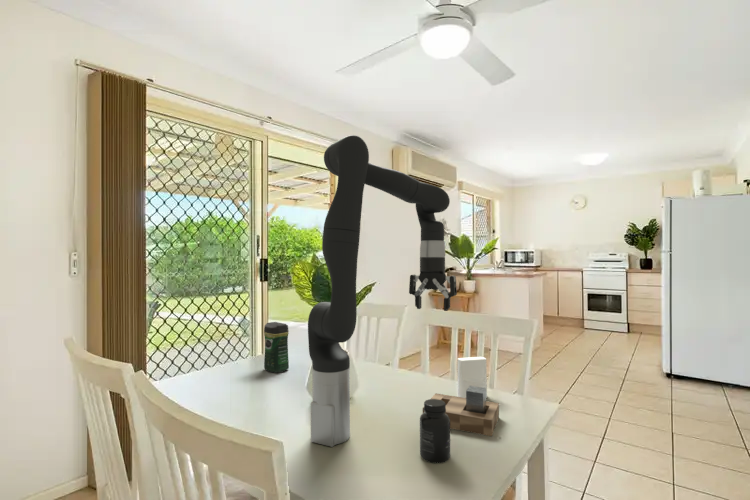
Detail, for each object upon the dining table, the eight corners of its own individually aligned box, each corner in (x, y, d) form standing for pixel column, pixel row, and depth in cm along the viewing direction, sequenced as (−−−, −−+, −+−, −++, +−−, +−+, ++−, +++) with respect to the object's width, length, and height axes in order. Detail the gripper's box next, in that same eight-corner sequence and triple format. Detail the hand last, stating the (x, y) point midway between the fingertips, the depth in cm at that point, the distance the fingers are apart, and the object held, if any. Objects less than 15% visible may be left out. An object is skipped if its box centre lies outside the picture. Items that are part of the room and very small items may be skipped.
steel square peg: (483, 428, 101) (483, 393, 101) (466, 424, 103) (466, 390, 103) (486, 421, 105) (486, 388, 105) (469, 418, 107) (469, 385, 107)
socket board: (491, 436, 96) (491, 420, 96) (422, 422, 104) (422, 408, 104) (498, 417, 107) (498, 403, 107) (435, 406, 115) (435, 393, 115)
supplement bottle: (456, 461, 85) (455, 406, 85) (427, 466, 83) (427, 410, 83) (442, 446, 92) (441, 395, 92) (415, 451, 90) (414, 398, 90)
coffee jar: (292, 370, 152) (292, 322, 152) (274, 374, 146) (274, 325, 146) (278, 365, 158) (278, 319, 158) (260, 369, 153) (260, 322, 153)
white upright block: (465, 403, 118) (464, 363, 118) (453, 392, 127) (452, 355, 127) (492, 400, 120) (491, 361, 120) (478, 390, 129) (478, 354, 129)
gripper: (405, 256, 117) (405, 309, 117) (451, 256, 111) (452, 313, 111) (414, 255, 124) (415, 306, 124) (459, 256, 117) (459, 309, 117)
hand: (432, 309), depth 117 cm, fingers open, 8 cm apart
